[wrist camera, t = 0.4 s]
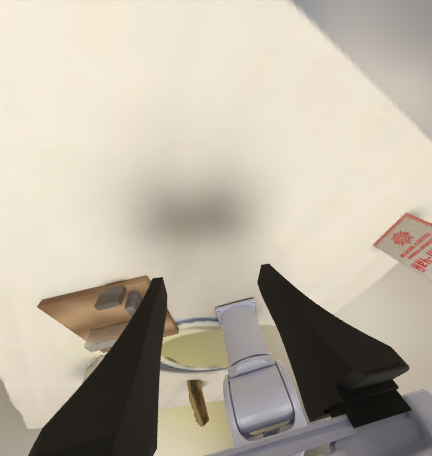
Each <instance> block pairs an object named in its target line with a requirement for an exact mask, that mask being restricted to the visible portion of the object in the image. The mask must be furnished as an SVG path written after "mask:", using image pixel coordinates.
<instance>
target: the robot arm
mask: <svg viewBox="0 0 432 456" xmlns="http://www.w3.org/2000/svg"><path fill="white" fill-rule="evenodd" d="M257 283H258V286H259V289H260V292H261V295H262V297H263V299H264V301H265V303H266V306H267V308H268V310H269V312H270V314H271V316H272V318H273V320H274V322H275V324H276V326H277V329H278V331H279V333H280V336H281V338H282V341H283V344H284V346H285V349H286V352H287V355H288V358H289V360H290V363H291V366H292V369H293V372H294V375H295V378H296V381H297V384H298V388H299V391H300V394H301V398H302V401H303V404H304V408H305V411H306V413H307V416H308V418H309V420H310V422H313V421H317V420H320V419H323V418H327V417H330V416H331V419H328V420H324V421H322V422H318V423H314V424H311V425H307V423H306V420H305V417H304V415H303V413H302V409H301V405H300V402H299V399H298V396H297V394H296V391H295V388H294V386H293V383H292V381H291V379H290V376H289V374H288V372H287V370H286V368H285V366H284V364H283V363H282V362H281V361H279V360H278V359H277V360H275V361H274V358H273V356H272V355H271V354H270V352H269V349H268V347H267V344H266V342H265V339H264V336H263V333H262V331H261V328H260V325H259V323H258V320H257V317H256V312H255V299H254V298H252V299H248V300H244V301H240V302H236V303H232V304H228V305H224V306H220V307H217V308H216V313H217V316H218V320H219V323H220V327H221V330H222V331H223V336H224V341H225V346H226V352H227V357H228V362H229V368H228V374H229V375H226V376H225V379H224V382H223V393H224V401H225V407H226V412H227V417H228V421H229V425H230V428H231V431H232V436H233V440H234V446H235V447H233V448H230V449H226V450H223V451H219V452H216V453H213V454H209V455H206V456H303V455H304V452H305V451H306V450H309V449H312V448H315V447H319V446H322V445H325V444H328V443H330V452H329V453H327V454H323V455H319V456H432V396H431V394H430V393H429V392H428V391H427V390H425V389H422V390H419V391H416V392H412V393H409V394H406V395H403V396H401V395H400V394H399V393H398V392H397V390H396V389H398V386H397V384H396V383H395V382H394V381H393V379H394V378H396V377H398V376H400V375H401V374H403V373H405V372H406V371H408V370H409V366H408V365H407V364H406V363H405V361H404V360H403V359H402V358H401V357H400V356H399V355H398V354H397V353H396V352H395V351H394V350H393V349H392V348H391V347H390V346H388V345H386V344H384V343H382V342H380V341H378V340H376V339H374V338H372V337H370V336H368V335H366V334H365V333H363V332H361V331H359V330H357V329H356V328H354V327H352V326H350V325H348V324H347V323H345V322H343V321H342V320H340V319H339V318H337V317H335V316H334V315H332V314H331V313H329V312H328V311H326V310H325V309H323V308H322V307H320V306H319V305H317V304H316V303H315V302H313V301H312V300H311V299H309V298H308V297H307V296H305V295H304V294H303V293H302V292H300V291H299V290H298V289H297V288H295V287H294V286H293V285H292V284H291V283H290V282H289V281H287V280H286V279H285V278H284V277H283V276H282V275H281V274H280V273H279V272H277V271H276V270H275V269H274V268H273V267H272V266H271V265H270V264H264V265H261V269H260V273H259V278H258V282H257ZM166 313H167V292H166V288H165V284H164V280H163V277H160V278H153V279H152V281H151V283H150V285H149V287H148V290H147V292H146V293H145V295H144V297H143V299H142V301H141V303H140V305H139V306H138V308H137V310H136V312H135V313H134V315H133V316H132V318H131V320H130V321H129V323H128V324H127V326H126V328H125V329H124V331H123V332H122V333H121V335H120V336H119V338H118V339H117V341H116V342H115V343H114V345H113V346H112V347H111V349H110V350H109V351H108V353H107V354H106V355H105V357H104V358H103V359H102V361H101V362H100V363H99V364H98V366H97V367H96V368H95V369H94V371H93V372H92V373H91V374H90V375H89V376H88V378H87V379H86V380H85V381H84V382H83V384H82V385H81V386H80V387H79V388H78V390H77V391H76V392H75V393H74V394H73V395H72V396H71V398H70V399H69V400H68V401H67V402H66V403H65V404H64V405H63V406H62V407H61V408H60V410H59V411H58V412H57V413H56V414H55V415H54V416H53V417H52V418H51V419H50V421H49V422H48V423H47V424H46V425H45V426H44V427H43V428H42V430H41V432H40V434H39V436H38V438H37V440H36V441H35V443H34V445H33V447H32V449H31V451H30V453H29V455H28V456H153V455H154V453H155V451H156V449H157V425H158V397H159V376H160V359H161V348H162V341H163V334H164V327H165V320H166ZM288 420H290V422H289V423H288V424H286V425H285V426H281V427H278V428H275V429H272V430H269V431H266V432H262V433H259V434H256V435H251V434H249V433H250V432H253V431H256V430H259V429H262V428H266V427H269V426H272V425H275V424H278V423H281V422H285V421H288Z"/></svg>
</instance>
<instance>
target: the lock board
mask: <svg viewBox="0 0 432 456" xmlns="http://www.w3.org/2000/svg"><path fill="white" fill-rule="evenodd" d="M150 283H151V282H150V280H149V278H148V277H147V276H144V277H139V278H135V279H131V280H126V281H122V282H118V283H114V284H109V285H105V286H101V287H97V288H92V289H88V290H84V291H79V292H75V293H71V294H67V295H62V296H58V297H54V298H50V299H45V300H42V301H41V302H40V303H39V305H38V306H37V307H38V308H39V309H41V310H42V311H43V312H45V313H46V314H48V315H49V316H51V317H52V318H54V319H55V320H57V321H58V322H59V323H61V324H62V325H64V326H65V327H67V328H68V329H70V330H71V331H73V332H74V333H75V334H77V335H78V336H80V337H81V338H83V339H84V340H86V341H87V339H88V337H89V334H90V332H91V331H92V330H96V329H100V328H104V327H108V326H112V325H116V324H120V323H124V322H128V321H130V320H131V318H132V316H133V315H134V313H135V312H136V310H137V308H138V306H139V305H140V303H141V301H142V299H143V297H144V295H145V293H146V292H147V290H148V287H149V285H150ZM178 332H179V328H178V327H177V325H176V323H175V322H174V320H173V318H172V317H171V315H170V313H169V312H168V310H167V313H166V320H165V327H164V334H163V337H167V336H171V335H174V334H178ZM110 349H111V347H109V348H105V349H101V350H100V351H102V352H103V353H105V352H108V351H109V350H110Z"/></svg>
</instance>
